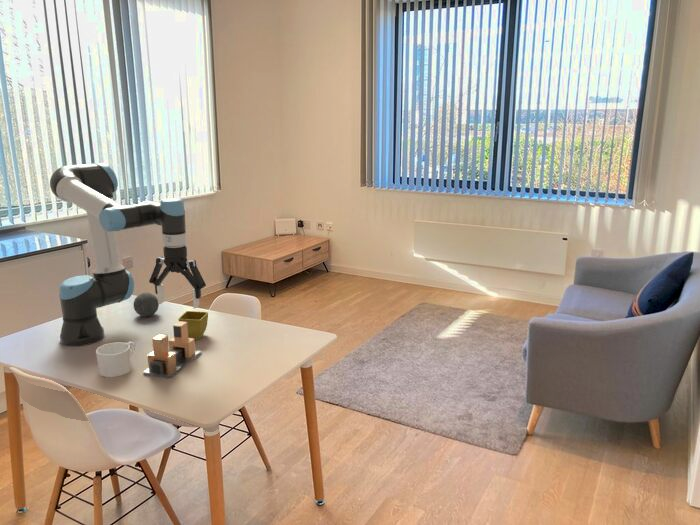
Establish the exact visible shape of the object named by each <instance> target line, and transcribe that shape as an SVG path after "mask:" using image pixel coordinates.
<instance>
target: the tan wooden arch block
mask: <svg viewBox="0 0 700 525" xmlns="http://www.w3.org/2000/svg"><path fill="white" fill-rule="evenodd" d="M172 328H173V337H172V338H170V339H168V344H169V346H168V348H169V352H170V351H172V350H173V349H175V348H176V347H182V348H185V357H188V358H190V357H191V356H192V355H194V354H195V350H196V344H195V343H196V339H193V338H188V326H187V322H182V321H179V320H178V322H176V323H174V325H173V326H172Z"/></svg>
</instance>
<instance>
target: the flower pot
mask: <svg viewBox="0 0 700 525" xmlns="http://www.w3.org/2000/svg"><path fill="white" fill-rule="evenodd" d="M208 317H209V312H208V311H196V310H195V311H194V310H186V311H185V312H184V313H183V314H181V316H179V317H178V322H179V321H182V322H187V326H188V338H193V339H194V340H195V341H196V340H200V339H201V338H202V337H203V335H204V334H205V331H206V330H207V326H208V319H209V318H208Z"/></svg>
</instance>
